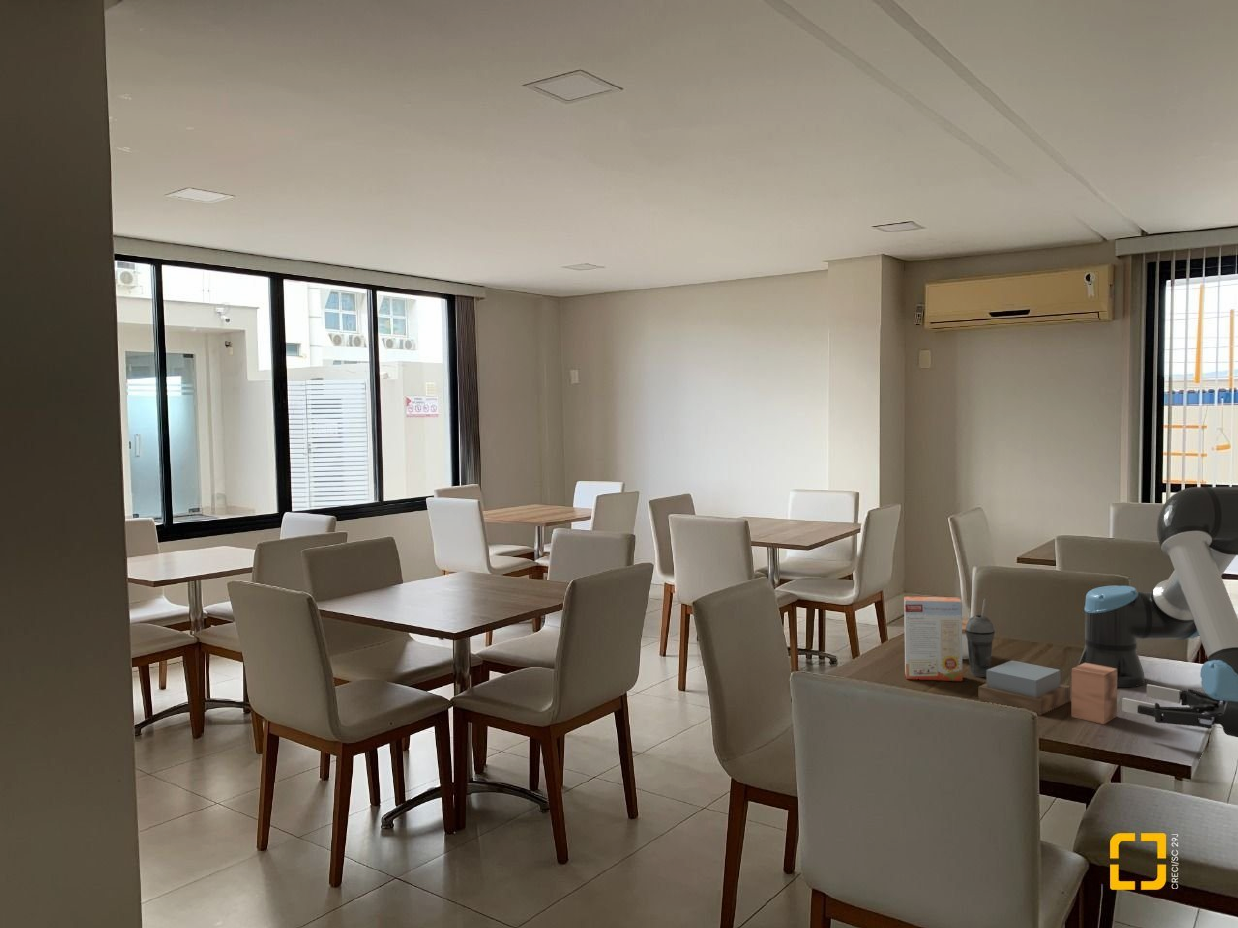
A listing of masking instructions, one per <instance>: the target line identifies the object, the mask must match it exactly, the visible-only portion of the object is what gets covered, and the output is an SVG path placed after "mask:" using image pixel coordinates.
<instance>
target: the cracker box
mask: <svg viewBox="0 0 1238 928" xmlns="http://www.w3.org/2000/svg"><path fill="white" fill-rule="evenodd" d="M903 605H904V606H903V609H904V612H903V613H904V616H903V618H904V619H903V620H904V675H905V678H907V679H906V680H918V679H919V680H923V681H924V680H925V681H944V682H945V681H946V682H947V681H948V682H949V681H950V682H963V674H964V672H963V669H964V668H963V659H962V619H963V601H962V600H961V598H960V597H951V596H950V597H949V596H948V597H947V596H945V597H944V596H904V597H903ZM919 680H918V681H919Z"/></svg>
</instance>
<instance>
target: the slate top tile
mask: <svg viewBox="0 0 1238 928" xmlns="http://www.w3.org/2000/svg"><path fill="white" fill-rule="evenodd" d="M1061 672H1062V670H1061V669H1057V668H1052V667H1048V666H1042V665H1037V664H1031V663H1027V662H1022V661H1018V660H1012V659H1011V660H1009V661H1006V662H1004V663H1001V664H998V665H996V666H993V667H990V669H988V670H986V677H985V678H986V683H987V687H991V688H995V689H1000V690H1004V691H1008V692H1013V693H1017V694H1022V695H1026V696H1030V697H1035V698H1037V697H1039V696H1041V695H1043V694H1045V693H1048V692H1050V691H1052V690H1054V689H1057V688H1059V687H1061V685H1062V683H1061V682H1062V681H1061V680H1062V679H1061V676H1062V675H1061Z"/></svg>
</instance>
